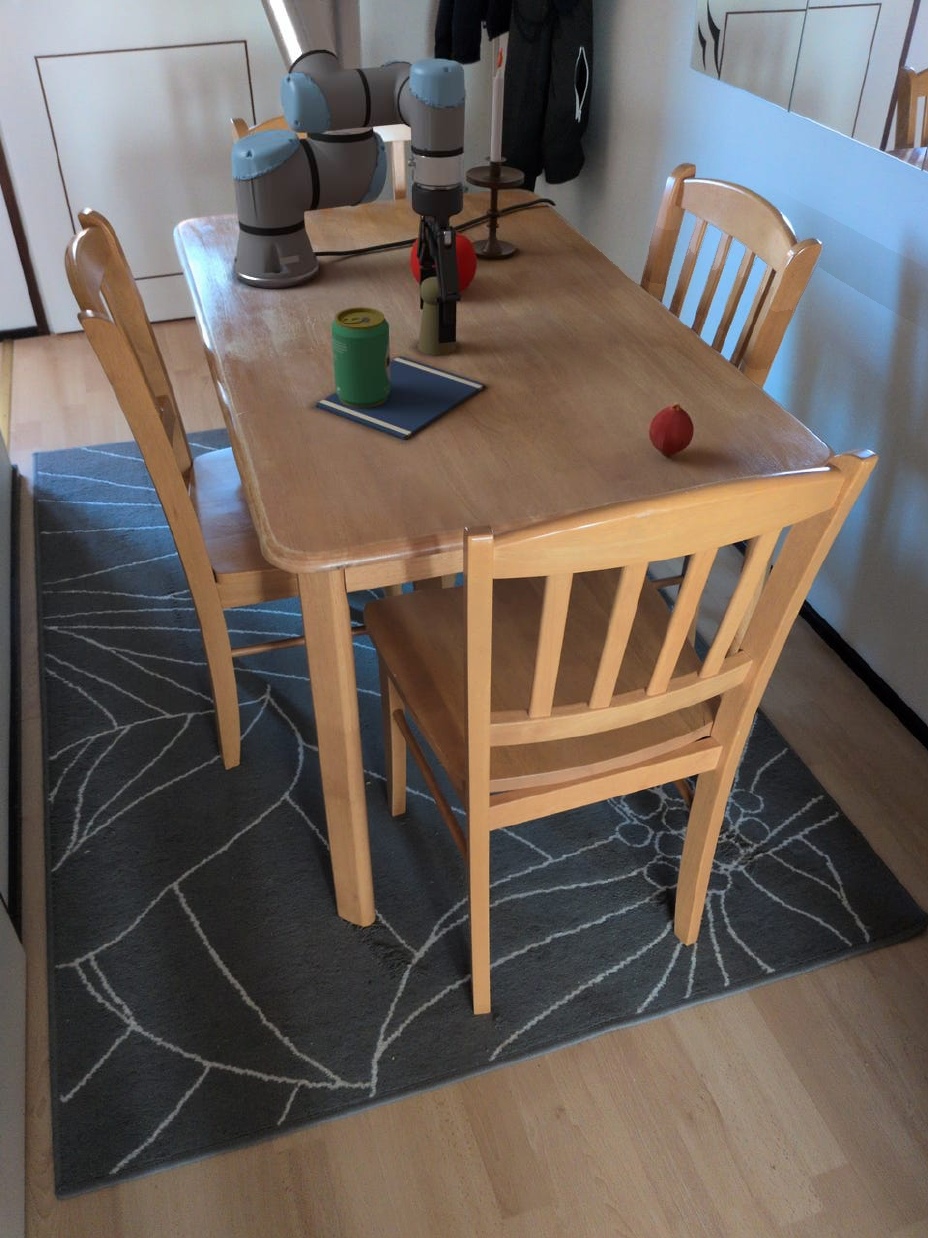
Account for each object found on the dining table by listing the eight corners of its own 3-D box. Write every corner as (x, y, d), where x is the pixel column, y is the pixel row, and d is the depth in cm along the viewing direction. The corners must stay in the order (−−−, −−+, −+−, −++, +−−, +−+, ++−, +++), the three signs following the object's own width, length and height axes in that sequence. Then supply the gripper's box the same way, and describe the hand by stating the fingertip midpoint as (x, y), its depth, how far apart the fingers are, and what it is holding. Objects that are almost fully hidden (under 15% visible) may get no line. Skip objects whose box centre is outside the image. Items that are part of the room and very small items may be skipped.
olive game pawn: (451, 357, 157) (452, 288, 150) (413, 352, 158) (413, 284, 151) (458, 341, 162) (460, 274, 155) (422, 337, 162) (422, 270, 155)
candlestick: (485, 238, 200) (492, 39, 177) (530, 250, 195) (543, 47, 173) (453, 253, 193) (456, 48, 171) (499, 265, 188) (508, 56, 166)
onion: (641, 445, 137) (649, 391, 132) (682, 444, 137) (692, 391, 132) (651, 467, 132) (659, 412, 127) (693, 466, 133) (703, 412, 128)
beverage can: (394, 406, 143) (392, 326, 135) (339, 411, 141) (334, 330, 134) (386, 381, 149) (384, 303, 141) (333, 385, 147) (327, 307, 140)
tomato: (487, 297, 176) (489, 237, 169) (427, 307, 172) (427, 246, 165) (457, 274, 184) (459, 216, 178) (400, 283, 180) (399, 224, 173)
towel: (400, 358, 156) (400, 355, 156) (484, 387, 149) (485, 383, 149) (315, 406, 143) (315, 403, 143) (404, 440, 136) (404, 436, 136)
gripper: (396, 160, 152) (399, 296, 166) (429, 210, 134) (430, 359, 147) (444, 158, 154) (443, 293, 167) (483, 207, 135) (479, 354, 148)
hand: (437, 324), depth 157 cm, fingers open, 13 cm apart
